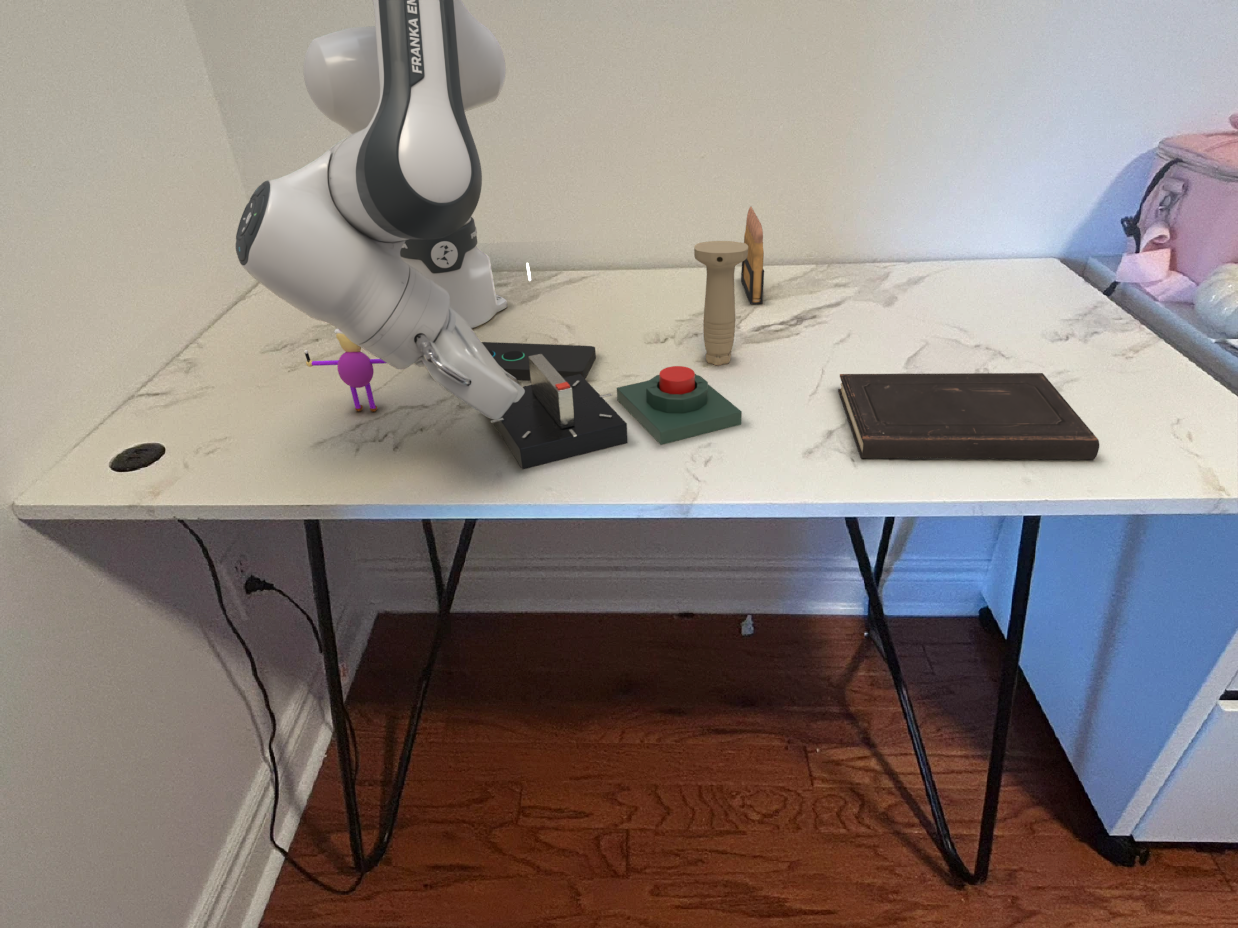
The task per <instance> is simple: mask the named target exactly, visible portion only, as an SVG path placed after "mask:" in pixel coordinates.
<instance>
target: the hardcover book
mask: <svg viewBox="0 0 1238 928" xmlns="http://www.w3.org/2000/svg"><path fill="white" fill-rule="evenodd" d="M839 379H840V381H841V382H840V388H838V389H837V392H838V395H839V399H840V401H841V403H842V407H843V410H844V413H845V416H846V419H847V422H848V426H849V428H850V430H851V433H852V437H853V440H854V442H855V445H856V449H857V451H858V455H859V458H860V459H921V460H922V459H924V460H925V459H927V460H928V459H930V460H931V459H934V460H935V459H936V460H937V459H941V460H943V459H945V460H946V459H947V460H950V459H951V460H952V459H954V460H956V459H957V460H958V459H960V460H963V459H964V460H969V459H970V460H974V459H975V460H1094V459H1096V458H1097V456H1098V453H1099V450H1100V440H1099V439H1098V437H1097V436H1096V435H1095V434H1094V432H1093V431H1092V430H1091V429H1090V428H1089V427H1088V425H1086V423H1085V422H1084V421H1083V419H1082V418H1081V417H1080V416H1079V415H1078V414H1077V412H1076V411H1075V410H1074V409H1073V408H1072V406H1071V405H1070V404H1069V403H1068V402H1067V400H1066V399H1065V398H1064V397H1063V396H1062V394H1061V393H1060V392H1059V390H1057V388H1056V387H1055V386H1054V384H1052V382H1051V381H1050V380H1049V378H1048V377H1046V375H1045V374H1044V373H1043V372H993V373H992V372H988V373H987V372H984V373H983V372H982V373H981V372H980V373H977V372H975V373H974V372H973V373H970V372H969V373H968V372H967V373H966V372H965V373H958V372H957V373H953V372H951V373H840V374H839Z"/></svg>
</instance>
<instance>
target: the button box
mask: <svg viewBox="0 0 1238 928" xmlns="http://www.w3.org/2000/svg"><path fill="white" fill-rule="evenodd" d="M616 400H617V401H618V403H619V404H620V405H621V406H622V407H623V408H624V409H625V410H626V411H627V412H628V413H629V414H630V415H631V416H632V417H633V418H634V419H635V420H636V421H637V422H638V423H639V424H640V425H641V427H643V429H645V431H646V432H647V433H648V434H649V435H650V436H651V437H652V438H653V439H654V440H655V441H656V442H657V443H658V444H659V445H660V446H663V445H668V444H671V443H675V442H679V441H682V440H686V439H690V438H694V437H698V436H703V435H706V434H710V433H714V432H718V431H721V430H725V429H726V430H727V429H730V428H733V427H737V426H740V425H742V417H743V416H742V415H743V411H742V410H741V409H739V408H738V407H737V406H736V405H734V403H732V402H730V400H729V399H727V398H726V397H724V396H723V395H722V394H721V393H720V392H718V391H717V390H716V389H715V388H714V387H712V386H711V385H710V384H709V382H708V381H707V380H706V379H705V378H704V377H702V376H701V375H699V374H696V373H695V389H694V390H693V391H692V392H689V393H685V394H668V393H665V392H661V390H660V387H659V374H656V375H654V376H653V377H651V378H650V379H649V380H645V381H641V382H635V383H632V384H627V385H623V386H622V385H621V386H619V387H616Z"/></svg>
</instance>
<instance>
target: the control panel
mask: <svg viewBox="0 0 1238 928" xmlns="http://www.w3.org/2000/svg"><path fill="white" fill-rule="evenodd" d="M563 379H564V380H565V381H566V382H567V383H568V384H569V385H570V387H571V388H572V394H573V407H574V420H575V426H571V427H567V428H563V429H561V428H560V427H559V425H558V424H557V423H556V422H555V420H554V419H553V418H552V416H551V415H550V414H549V413H548V411H547V410H546V409H545V408H544V406H543V405H542V404H541V402H540V401H539V400H538V399H537V397H536V396H535V395H534V393H533V392H532V387H531V384H528V385H524V386H523V385H522V387H523V388H524V390H525V393H524V395H523V396H522V397H521V398H520V400H519V401H518V402H513V403H512V405H511V406H510V407H509V409H508V410H507V411H506V412H505V413H504V415H503V416H502V417H501V418H500V419H498V420H494V419H490V423H491V424H492V425H493V426H494V427H495V429H496V431H497V432H498V433H499V436H500V437H501V438H502V440H503V441H504V443H505V444H506V446H507V448H508V449H509V451H510V452H511V454H512V455H513V457H514V458H515V460H516V462H517V463H518V465H519V466H520V468H521V470H526V469H531V468H534V467H538V466H542V465H547V464H551V463H555V462H558V461H563V460H567V459H570V458H574V457H578V456H582V455H586V454H590V453H594V452H598V451H602V450H606V449H610V448H615V447H617V446H618V447H619V446H622V445H625V444H628V424H627V422H626V421H625V420H624V419H623V418H622V417H621V415H620V414H619V413H617V412H616V411H615V410H614V408H613V407H612V406H611V405H610V404H609V403H608V402H607V400H606V399H604V398H607V397H608V398H609V397H612V396H613V394H612V393H605V394H601V395H600V393H598V391H597V390H596V389H595V388H594V387H593V386H592V385H591V384H590V383H589V382H588V380H587V379H584V378H583V377H582V375H581V374H578V375H574V376H569V377H565V378H563Z"/></svg>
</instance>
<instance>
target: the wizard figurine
mask: <svg viewBox="0 0 1238 928" xmlns="http://www.w3.org/2000/svg"><path fill="white" fill-rule="evenodd" d="M333 333H334V335H335V336H336V340H338V342H339V345H340V347H341V349H342V350H343V351H344V352H343V353H341V355H340V357H339V358H338V359H336V360H335V359H334V360H332V359H331V360H313V359H311V358H310V354H309V351H308V349H305V350H304V351H303V352H304V356H305V359H306V361H305V365H306V366H307V367H309V368H311V367H314V366H315V367H316V366H318V367H319V366H337V367H336V368H337V374H338V376H339V378H340V379H341V381H342V382H343V383H344V384H346V385H347V386H348V387H349V388H350V393H351V397H352V400H353V405H354V411H356V412H362V411H363V410H364V405H362V404H361V402H360V397H359V394H358V391H357V389H361V388H364V389H365V392H366V397H367V400H368V401H367V402H368V405H369V411H370V412H374V413H375V412H376V411H377V410H378V405H376V403H375V399H374V394H373V390H372V386H371V381H372V380H373V378H374V371H375V370H374V365H375V364H377V365H378V364H379V365H380V364H382V365H383V364H387V363H386V362H385V361H383V360H381V359H380V358H370V357H369V356H368V355H367V354H366V353H365V352H363V351H362V348H361V347H360V346H358V345H356V344H355V343H353V342H352V341H350V340H349V339H348V338H347V337H346V336H345V335H344V333H343V332H342V331H340V330H339V329H338V328H335V329H334V331H333Z"/></svg>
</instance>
